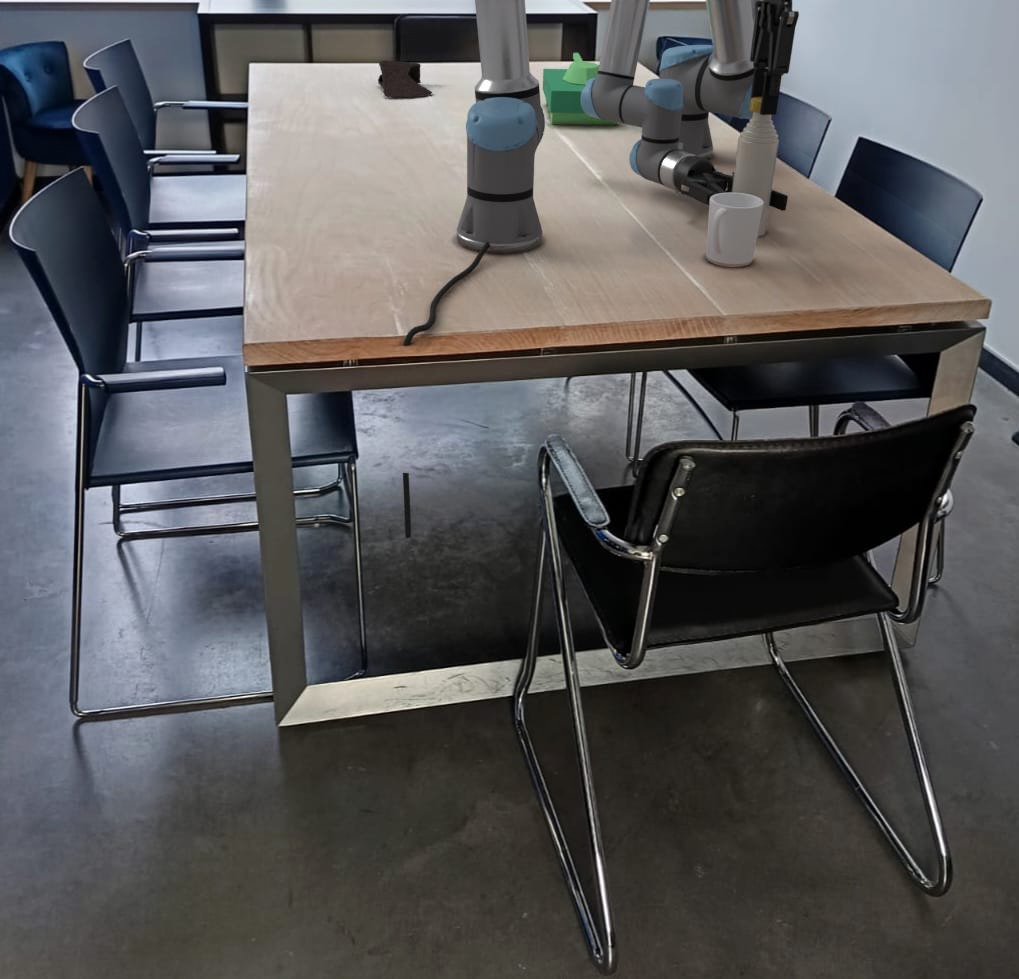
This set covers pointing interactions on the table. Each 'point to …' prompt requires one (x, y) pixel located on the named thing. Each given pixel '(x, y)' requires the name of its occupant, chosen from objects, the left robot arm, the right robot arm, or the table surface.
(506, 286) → the table surface
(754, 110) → the cap
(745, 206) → the mug
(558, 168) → the table surface
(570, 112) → the toy tank
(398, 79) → the axe head
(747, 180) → the bottle
